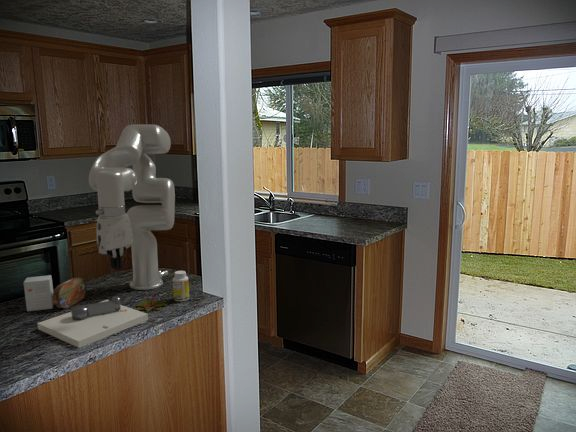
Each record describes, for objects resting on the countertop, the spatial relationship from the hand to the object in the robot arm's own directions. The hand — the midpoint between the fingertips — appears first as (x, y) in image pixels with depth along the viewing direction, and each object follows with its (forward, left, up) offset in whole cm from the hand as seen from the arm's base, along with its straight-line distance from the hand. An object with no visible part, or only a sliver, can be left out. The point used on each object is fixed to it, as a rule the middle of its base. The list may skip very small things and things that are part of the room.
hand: (116, 268), depth 148 cm
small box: (+8, -32, -18) cm, 38 cm away
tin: (0, -27, -18) cm, 33 cm away
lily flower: (-14, -2, -18) cm, 23 cm away
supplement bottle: (-25, +2, -18) cm, 30 cm away
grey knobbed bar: (+4, -6, -15) cm, 17 cm away
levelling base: (+6, -4, -18) cm, 19 cm away
